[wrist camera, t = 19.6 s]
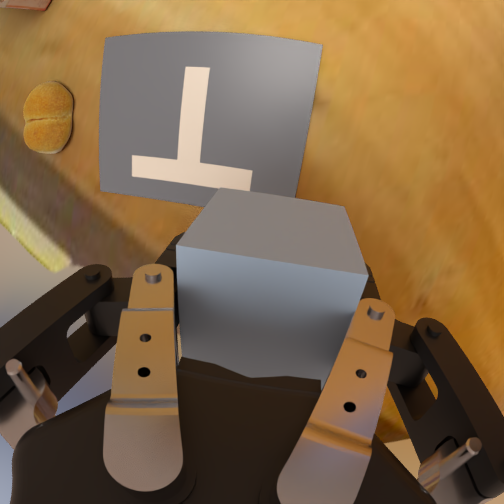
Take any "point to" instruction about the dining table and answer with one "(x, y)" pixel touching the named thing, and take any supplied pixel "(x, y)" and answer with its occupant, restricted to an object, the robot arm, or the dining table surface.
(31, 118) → the bread roll
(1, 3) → the cracker box
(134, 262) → the dining table surface
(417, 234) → the dining table surface
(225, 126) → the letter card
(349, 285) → the gray cube
